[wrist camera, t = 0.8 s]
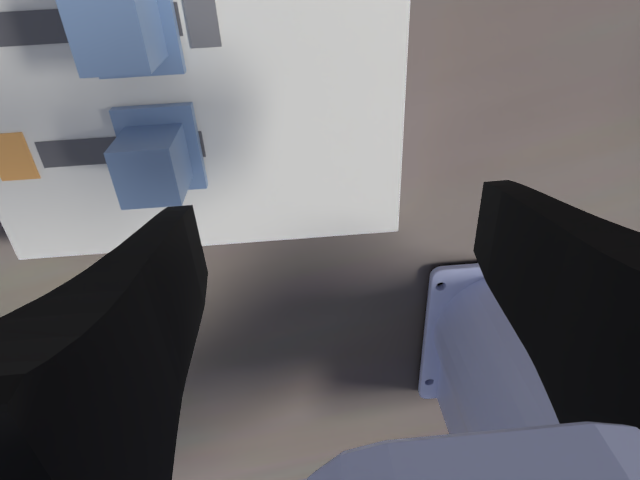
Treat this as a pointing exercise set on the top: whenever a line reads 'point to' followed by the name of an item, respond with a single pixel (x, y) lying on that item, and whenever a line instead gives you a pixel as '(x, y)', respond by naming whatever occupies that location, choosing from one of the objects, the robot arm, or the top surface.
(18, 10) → the switch board
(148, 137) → the switch tab
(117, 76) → the switch tab
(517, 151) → the top surface
